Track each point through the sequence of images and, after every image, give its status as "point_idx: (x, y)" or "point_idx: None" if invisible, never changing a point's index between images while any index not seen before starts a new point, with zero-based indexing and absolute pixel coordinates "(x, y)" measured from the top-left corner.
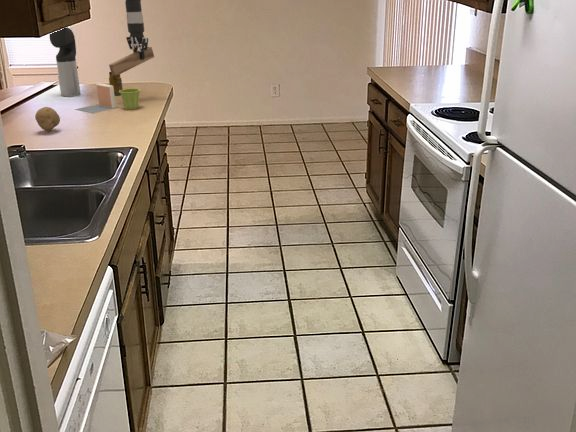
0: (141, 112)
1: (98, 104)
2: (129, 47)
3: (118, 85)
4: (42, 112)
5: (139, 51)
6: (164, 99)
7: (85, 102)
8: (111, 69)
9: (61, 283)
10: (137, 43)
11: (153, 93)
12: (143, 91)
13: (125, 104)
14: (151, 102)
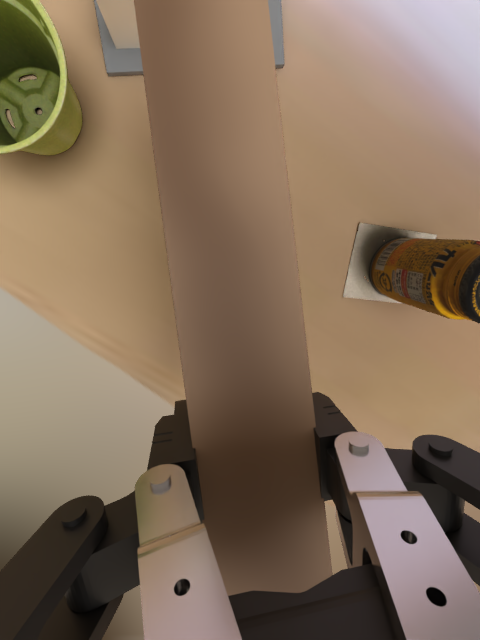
0: None
1: (272, 32)
2: (475, 451)
3: (402, 271)
4: None
5: (260, 491)
6: (132, 371)
7: (403, 45)
8: None
9: None
10: (181, 612)
11: None
12: (362, 398)
13: (7, 42)
14: (118, 290)
